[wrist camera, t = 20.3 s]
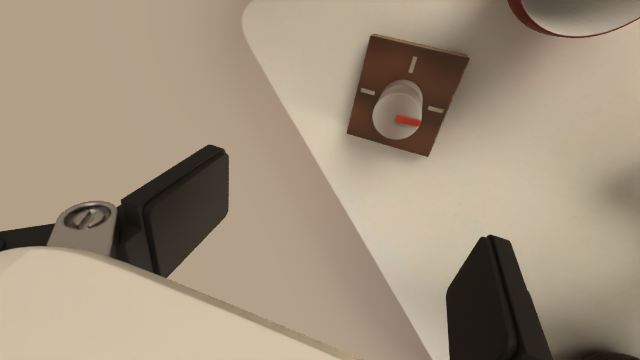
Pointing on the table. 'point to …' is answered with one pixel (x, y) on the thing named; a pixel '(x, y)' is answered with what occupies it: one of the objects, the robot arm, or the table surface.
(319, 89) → the table surface
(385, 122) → the tap knob
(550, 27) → the mug
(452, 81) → the panel
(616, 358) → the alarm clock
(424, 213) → the table surface
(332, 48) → the table surface
